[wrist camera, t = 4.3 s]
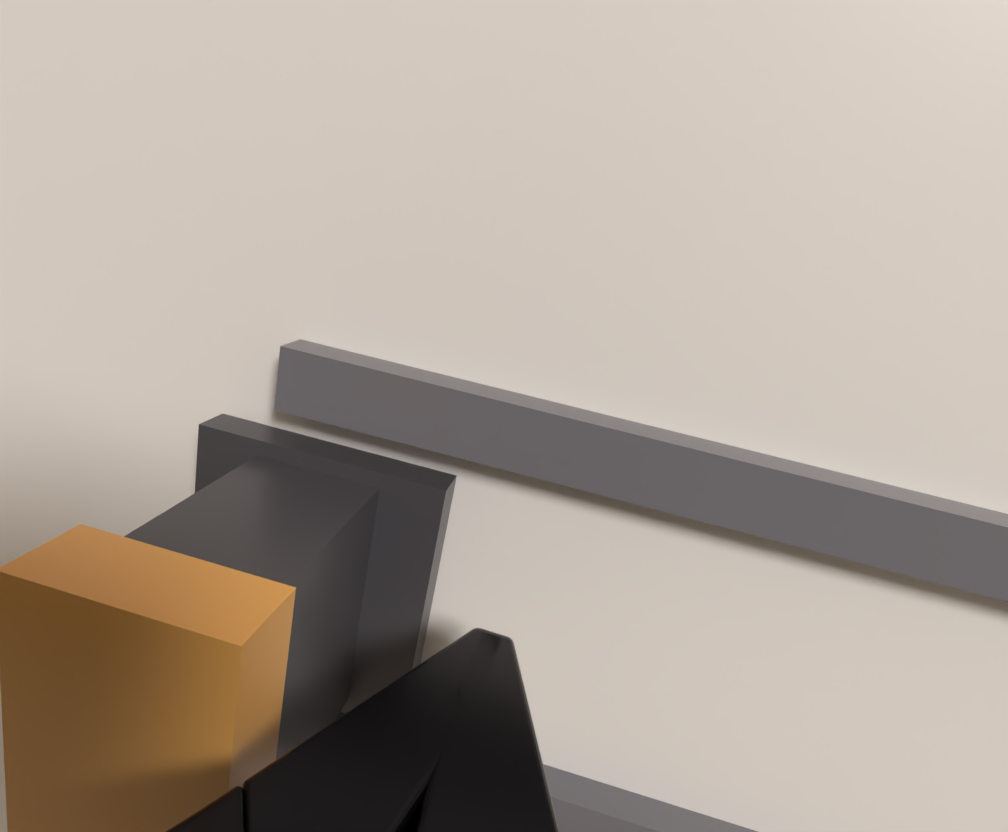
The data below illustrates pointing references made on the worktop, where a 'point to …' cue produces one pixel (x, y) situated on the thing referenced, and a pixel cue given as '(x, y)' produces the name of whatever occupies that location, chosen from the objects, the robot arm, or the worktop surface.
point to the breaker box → (566, 352)
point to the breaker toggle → (212, 628)
